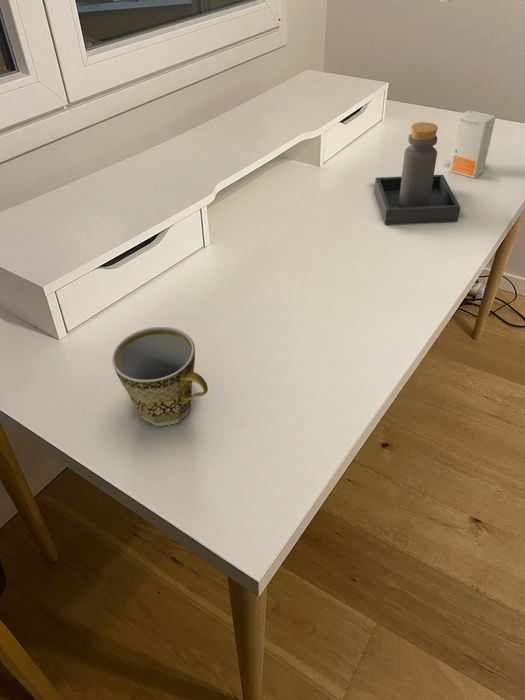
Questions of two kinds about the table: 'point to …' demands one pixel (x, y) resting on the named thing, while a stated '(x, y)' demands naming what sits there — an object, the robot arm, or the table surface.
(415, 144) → the bottle
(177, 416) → the ceramic cup
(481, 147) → the cosmetic box
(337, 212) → the table surface
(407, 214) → the tray
